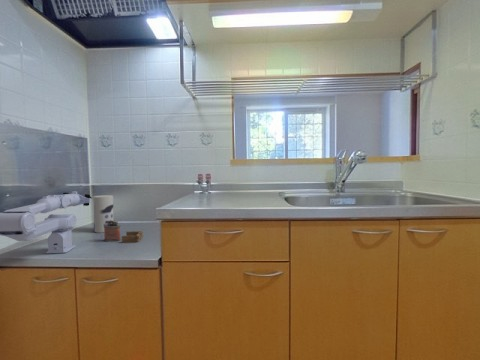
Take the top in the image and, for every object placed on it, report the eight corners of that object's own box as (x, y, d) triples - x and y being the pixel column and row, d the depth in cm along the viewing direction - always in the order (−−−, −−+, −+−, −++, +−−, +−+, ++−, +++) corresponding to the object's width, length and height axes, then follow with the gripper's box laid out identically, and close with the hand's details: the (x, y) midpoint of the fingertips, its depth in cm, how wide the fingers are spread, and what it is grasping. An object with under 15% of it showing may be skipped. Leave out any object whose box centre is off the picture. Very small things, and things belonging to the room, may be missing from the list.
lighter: (121, 239, 131) (121, 220, 130) (118, 241, 127) (117, 221, 127) (106, 239, 132) (106, 219, 131) (102, 241, 128) (102, 221, 128)
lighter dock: (138, 242, 127) (138, 236, 127) (121, 242, 126) (121, 236, 125) (142, 236, 137) (142, 231, 137) (127, 237, 135) (127, 231, 135)
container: (105, 233, 144) (104, 197, 143) (89, 232, 146) (89, 196, 145) (117, 229, 153) (117, 195, 152) (102, 228, 155) (102, 194, 154)
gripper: (86, 192, 121) (98, 191, 134) (52, 190, 119) (68, 189, 133) (84, 208, 121) (97, 205, 134) (51, 205, 119) (67, 203, 133)
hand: (82, 198), depth 133 cm, fingers open, 7 cm apart
